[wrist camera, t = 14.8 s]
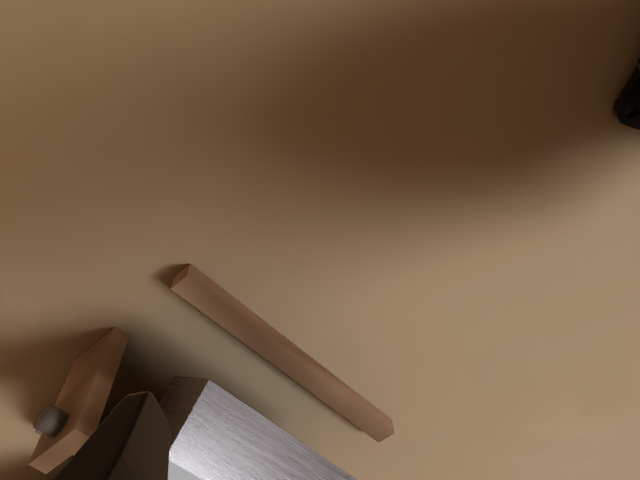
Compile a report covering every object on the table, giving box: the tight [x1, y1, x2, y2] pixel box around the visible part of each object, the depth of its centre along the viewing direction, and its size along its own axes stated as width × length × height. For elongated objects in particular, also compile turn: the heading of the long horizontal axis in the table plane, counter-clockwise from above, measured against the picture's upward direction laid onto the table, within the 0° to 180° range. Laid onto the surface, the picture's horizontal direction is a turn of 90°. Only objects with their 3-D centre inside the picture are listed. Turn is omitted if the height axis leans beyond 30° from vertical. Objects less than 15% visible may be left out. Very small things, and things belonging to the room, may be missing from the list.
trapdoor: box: [35, 376, 357, 480], centre depth 27 cm, size 12×11×4 cm
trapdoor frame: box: [28, 264, 394, 474], centre depth 26 cm, size 8×15×6 cm, turn 42°
